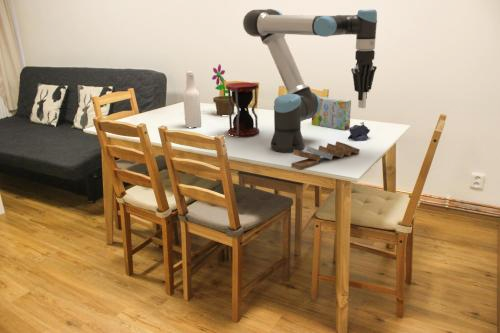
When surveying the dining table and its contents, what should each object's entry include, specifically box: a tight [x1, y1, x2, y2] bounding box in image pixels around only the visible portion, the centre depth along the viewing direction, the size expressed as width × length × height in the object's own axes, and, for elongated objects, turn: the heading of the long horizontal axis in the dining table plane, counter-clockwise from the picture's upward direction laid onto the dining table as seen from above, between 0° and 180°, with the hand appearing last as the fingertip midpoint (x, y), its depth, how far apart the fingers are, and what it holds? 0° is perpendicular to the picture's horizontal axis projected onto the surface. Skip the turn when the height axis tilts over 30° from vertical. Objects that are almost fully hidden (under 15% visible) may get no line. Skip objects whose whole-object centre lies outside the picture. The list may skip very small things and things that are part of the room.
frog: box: [347, 121, 371, 142], centre depth 210 cm, size 10×12×8 cm
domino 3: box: [305, 146, 334, 161], centre depth 180 cm, size 2×5×10 cm
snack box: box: [311, 96, 352, 131], centre depth 233 cm, size 21×6×15 cm, turn 47°
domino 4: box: [317, 145, 345, 159], centre depth 182 cm, size 2×5×10 cm
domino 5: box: [326, 142, 353, 157], centre depth 184 cm, size 2×5×10 cm
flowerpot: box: [211, 64, 236, 116], centre depth 267 cm, size 14×14×30 cm
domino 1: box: [292, 149, 321, 161], centre depth 178 cm, size 2×5×10 cm
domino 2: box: [291, 158, 320, 171], centre depth 176 cm, size 2×5×10 cm
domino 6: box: [334, 141, 361, 155], centre depth 187 cm, size 2×5×10 cm
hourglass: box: [225, 81, 260, 138], centre depth 223 cm, size 16×16×25 cm
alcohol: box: [182, 70, 202, 129], centre depth 239 cm, size 9×9×30 cm
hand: (361, 107), depth 186 cm, fingers closed
